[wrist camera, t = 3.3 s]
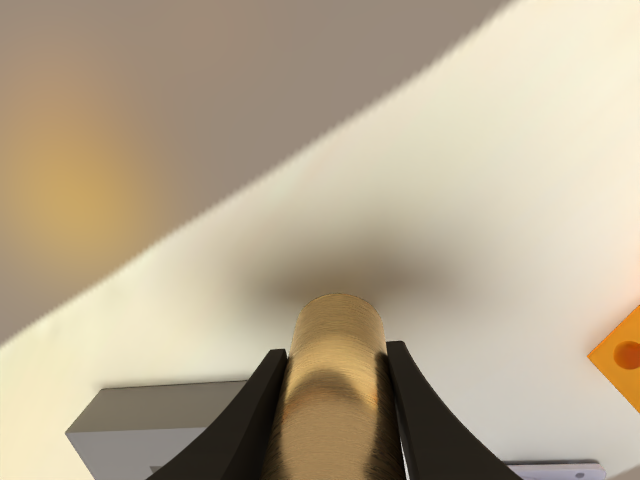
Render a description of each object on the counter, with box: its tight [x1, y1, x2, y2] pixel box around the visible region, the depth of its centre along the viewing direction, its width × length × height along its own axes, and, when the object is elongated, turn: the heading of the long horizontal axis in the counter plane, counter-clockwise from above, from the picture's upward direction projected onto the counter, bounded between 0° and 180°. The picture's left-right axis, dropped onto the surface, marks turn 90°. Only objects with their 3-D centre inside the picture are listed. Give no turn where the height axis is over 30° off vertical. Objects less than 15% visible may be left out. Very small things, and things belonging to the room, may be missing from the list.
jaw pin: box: [260, 294, 406, 480], centre depth 11 cm, size 4×4×8 cm
